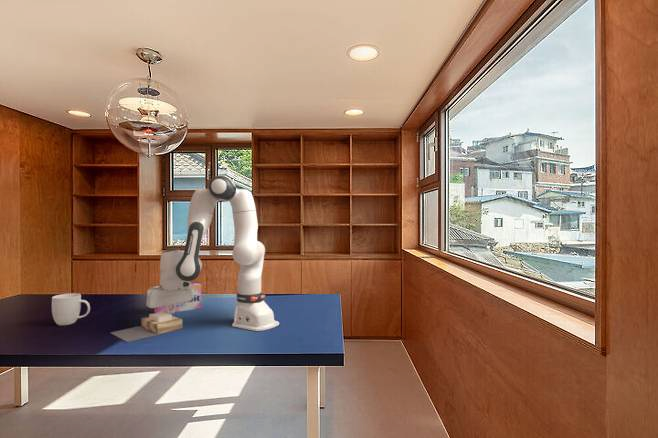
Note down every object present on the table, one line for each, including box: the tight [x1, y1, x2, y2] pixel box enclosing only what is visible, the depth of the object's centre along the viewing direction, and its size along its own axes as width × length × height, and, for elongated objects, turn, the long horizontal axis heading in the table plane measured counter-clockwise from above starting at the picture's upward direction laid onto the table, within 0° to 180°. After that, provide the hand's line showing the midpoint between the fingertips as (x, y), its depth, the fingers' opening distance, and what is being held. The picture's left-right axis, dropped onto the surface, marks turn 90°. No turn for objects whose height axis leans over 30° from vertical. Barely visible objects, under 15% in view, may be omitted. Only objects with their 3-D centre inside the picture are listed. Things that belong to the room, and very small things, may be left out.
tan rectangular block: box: [140, 315, 183, 335], centre depth 157 cm, size 16×11×4 cm
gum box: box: [153, 281, 203, 313], centre depth 188 cm, size 24×8×14 cm, turn 126°
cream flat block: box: [148, 312, 173, 322], centre depth 157 cm, size 9×6×2 cm, turn 51°
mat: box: [110, 325, 159, 344], centre depth 148 cm, size 18×12×1 cm, turn 51°
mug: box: [51, 292, 91, 326], centre depth 164 cm, size 15×11×13 cm
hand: (170, 314), depth 161 cm, fingers closed
